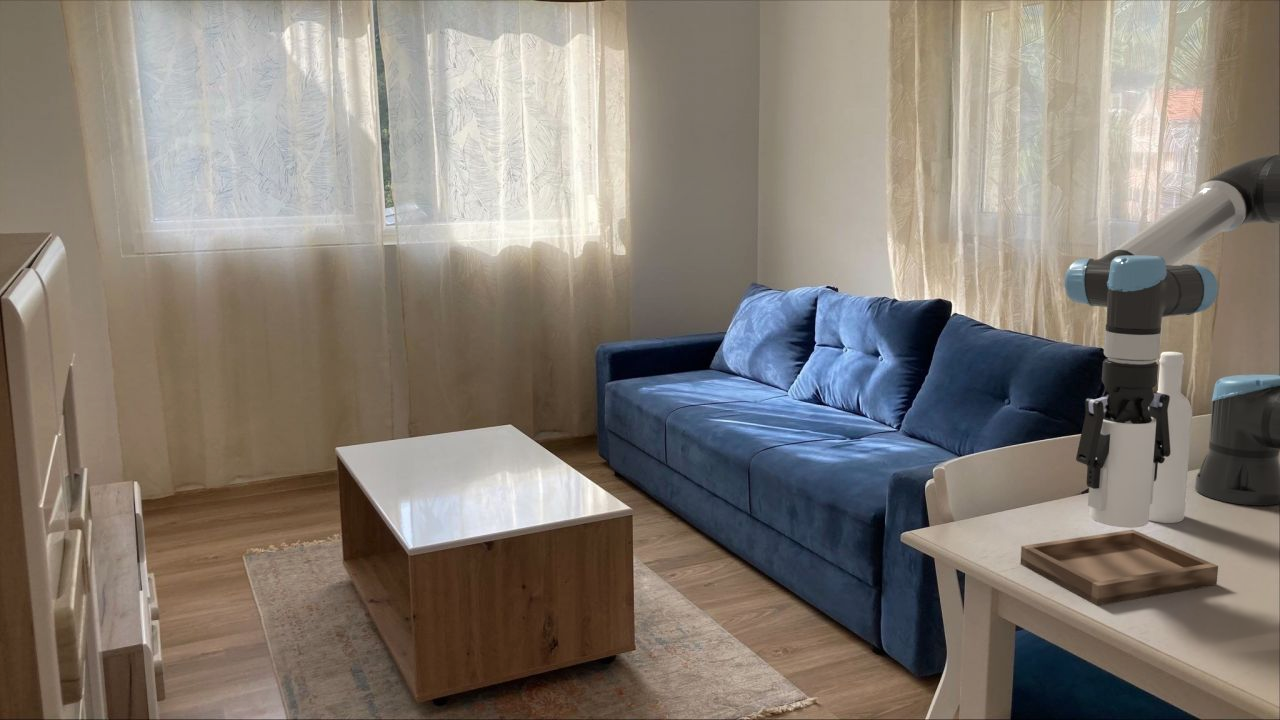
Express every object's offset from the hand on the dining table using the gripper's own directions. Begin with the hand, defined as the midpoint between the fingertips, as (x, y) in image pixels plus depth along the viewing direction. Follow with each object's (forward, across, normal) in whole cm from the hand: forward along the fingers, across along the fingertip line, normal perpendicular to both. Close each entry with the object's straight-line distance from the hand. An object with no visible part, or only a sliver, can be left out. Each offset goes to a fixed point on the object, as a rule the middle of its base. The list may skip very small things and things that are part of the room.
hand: (1120, 504), depth 157 cm
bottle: (+11, -27, -19) cm, 35 cm away
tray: (+11, 0, 0) cm, 11 cm away
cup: (+2, 0, 0) cm, 2 cm away
